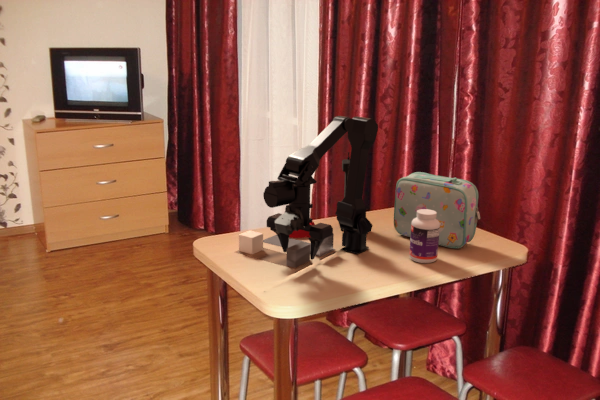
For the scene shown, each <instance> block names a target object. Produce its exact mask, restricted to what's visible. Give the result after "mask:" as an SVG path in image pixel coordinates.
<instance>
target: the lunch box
mask: <svg viewBox="0 0 600 400" xmlns="http://www.w3.org/2000/svg"><path fill="white" fill-rule="evenodd" d="M478 204H479V191H478V188H477V186H476V184H474V183H473V182H471V181H469V180H467V179H463V178H457V177H450V176H449V177H447V176H443V175H436V174H431V173H427V172H423V171H422V172H421V171H416V172H412V173H410V174H409V175H406V176H404V177H401V178H399V179H398V180H397V181H396V185H395V195H394V205H393V206H394V207H393V208H394V209H393V227H394V229H395V231H396V232H397V233H398V234H399V235H401V236H405V237H409V238H410V236H411V223H412V220H413V219H414V218H416V217H417V210H420V209H429V210H434V211H436V212H437V215H436V218H435V219H437V220H438V221H439V223H440V231H439V243H438V246H441V247H445V248H451V249H461V248H462V247H464V246H465V245H466V244H467V243H470V242H471V241H472V240H473V238H474V237H475V234H476V230H477V223H478V220H481V215H480V211H479V207H478Z"/></svg>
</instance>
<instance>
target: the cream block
mask: <svg viewBox="0 0 600 400" xmlns="http://www.w3.org/2000/svg"><path fill="white" fill-rule="evenodd" d="M263 240H264V233H262V232H258V231H256V230H255V231H254V230H251V229H249V230H247V231H244V232H242V233H239V234H238V250H239V251H241V252H245V253H248V254H255V253H257V252H259V251H262V250H263V248H264V242H263Z"/></svg>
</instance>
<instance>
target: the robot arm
mask: <svg viewBox="0 0 600 400" xmlns="http://www.w3.org/2000/svg"><path fill="white" fill-rule="evenodd" d="M378 129H379V126H378V123H377V121H376V120H375V119H373V118H370V117H364V116H363V117H362V116H357V115H356V116H353V117H349V116H343V115H337V116H334V117H333V118H332V120H331V122H330V123H329V124H328V125H327V126H326V127H325V128H324V129H323V130H322V131H321V132H320V133H319V134H318V135H317V136H316V137H315V138H314V139H313V140H312V141H310V143H309V144H308V145H306V146H305V147H302V148H301V147H300V148H299V149H297V150H295V151H294V152H293V153H291V154H289V155H288V157H286V159H285V163H284V165H283V167H282V169H281V171H280V172H279V173H278V177H277V180H269V181H268V185H267V186H266V187H265V189H264V192H263V194H262V195H263V201H264V203H265V205H266V206H267V207H269V208H278V207H282V206H285V208H284V210H285V211H284V213H279V212H278V213H275V214H273V215H270V216H268V217H267V219H266V228H269V229H270V231H272V232H274V233H275V235H277V236H278V238H279V240H280V243H281V246H282V247H281V248H282V251H283V252H282V253H287V248H288V243H289V238H290V237H289V235H290V234H292V233H293V231H294V230H295V231H298V230H299V229H300V230H304V231H308V232H309V235H310V236H311V237H310V238H308V237H307V238H308V240H309V241H308V242H309V243H311V249H310V260H311V261H313V260H314V259H315V257H317V256H316V254H317V251H318V249H319V247H320V245H321V244H322V242H323V240H324V239H325V238H327V237H329V236H331V235H333V233H334V228H333V226H332V225H331V224H329V223H328V224H327V223H324V222H318V223H316V224H315V225H310V223H311V222H312V221H313V218H312V217H311V209H313V208H314V204H313V203H311V185H314V184H317V180H316V179H315V178H314V177H313V175H314V173H316V171H317V169H318V168H319V167H320V162H321V159H322V158H323V157H324V155H326V154H327V152H328V151H330V149H332V148H333V147H334V146H335V145H336V144H337V142H338V141H340V139H342V138H343V136H345V134H346V133H347V139H348V142H349V145H350V147H351V149H350V155H349V157H350V163H349V171H348V179H347V187H346V195H345V197H344V196H343V198H342V199H341V200H338V201H336V202H337V203H336V211H335V213H334V214H335V215H336V220H337V222H338V225H339V228H340V229H341V228H343V229H344V230H343V232H342V234H341V236H342V237H341V247H342V248H339V249H340V250H341V251H343V252H344V251H345V252H349V253H352V254H355V255H356V254H357V255H359V254H361V253H363V252H365V251H367V250H369V249H370V248H369V246H367V240H368V239H367V237H368V236H367V235H368V234H369V233H370V232H372V229H373V223H371V221H370V220H369V219H368V217H367V208H366V205H365V202H364V200H363V199H364V198H363V197H364V195H363V194H364V189H365V188H364V187H365V179H366V172H367V164H368V156H369V150H370V149H371V147H372V146H373V144H374V143H375V142H376V139H377V134H378V131H379V130H378Z"/></svg>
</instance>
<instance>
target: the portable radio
mask: <svg viewBox="0 0 600 400" xmlns="http://www.w3.org/2000/svg"><path fill="white" fill-rule="evenodd" d="M347 153H348V154H347V159H342V161H341V169H342V172H344V187H343V188H344V189H343V191H344V192H343V198H344V197H345V195H346V187H347V179H348V171H349V163H350V154H351V151H347ZM340 231H344V229H343V228H340Z"/></svg>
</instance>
